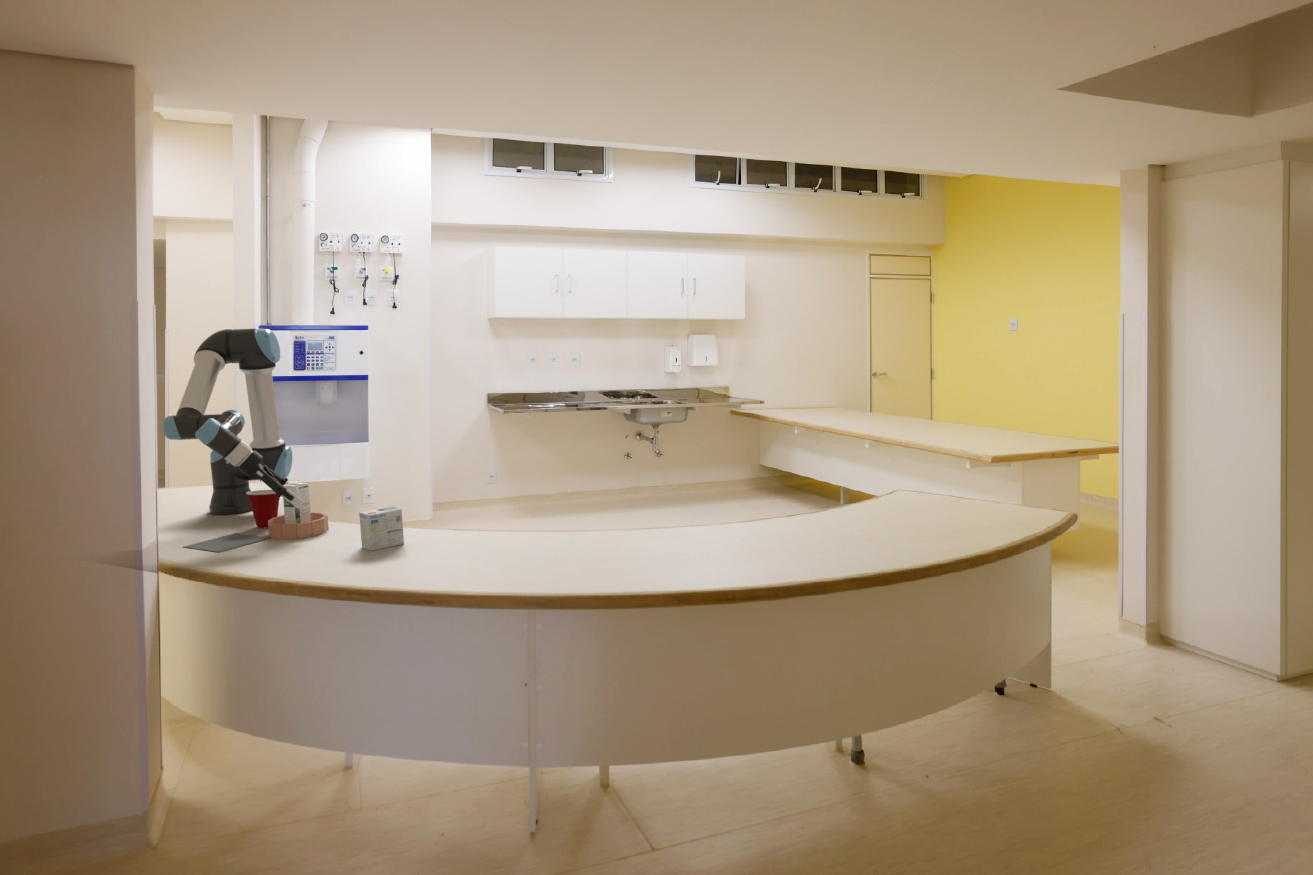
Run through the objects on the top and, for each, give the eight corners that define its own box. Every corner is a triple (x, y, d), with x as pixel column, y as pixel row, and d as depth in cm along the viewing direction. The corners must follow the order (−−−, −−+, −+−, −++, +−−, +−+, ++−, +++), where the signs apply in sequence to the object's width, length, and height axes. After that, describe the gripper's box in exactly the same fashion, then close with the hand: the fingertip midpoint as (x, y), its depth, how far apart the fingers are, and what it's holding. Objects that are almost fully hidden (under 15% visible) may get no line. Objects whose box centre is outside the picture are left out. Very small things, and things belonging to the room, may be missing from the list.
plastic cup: (291, 522, 288) (288, 487, 286) (274, 530, 277) (270, 493, 276) (260, 522, 289) (257, 487, 287) (242, 530, 278) (238, 493, 277)
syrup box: (284, 530, 272) (280, 485, 270) (298, 526, 278) (294, 481, 276) (298, 531, 270) (295, 486, 268) (312, 527, 276) (309, 482, 274)
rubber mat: (235, 533, 274) (235, 532, 274) (271, 538, 267) (271, 537, 267) (183, 547, 258) (183, 546, 258) (219, 552, 251) (219, 551, 251)
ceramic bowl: (301, 523, 285) (300, 510, 284) (339, 528, 278) (338, 514, 277) (257, 535, 270) (256, 521, 269) (296, 540, 262) (295, 526, 262)
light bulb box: (394, 540, 260) (391, 505, 259) (405, 544, 256) (402, 508, 254) (360, 547, 253) (358, 511, 252) (371, 551, 248) (368, 514, 247)
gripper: (238, 461, 276) (292, 503, 284) (233, 474, 253) (293, 518, 261) (255, 444, 277) (308, 485, 285) (252, 454, 254) (310, 499, 262)
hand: (301, 501), depth 273 cm, fingers open, 13 cm apart
